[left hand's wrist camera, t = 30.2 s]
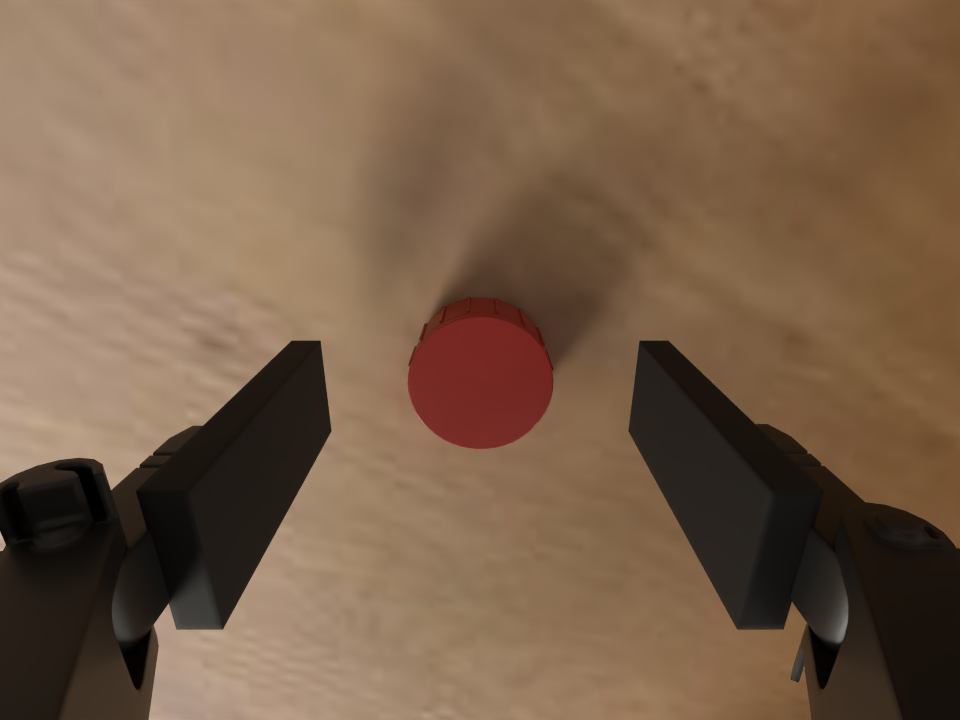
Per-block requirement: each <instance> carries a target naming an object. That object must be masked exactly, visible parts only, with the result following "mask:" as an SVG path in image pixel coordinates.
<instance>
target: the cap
mask: <svg viewBox="0 0 960 720" xmlns="http://www.w3.org/2000/svg"><path fill="white" fill-rule="evenodd" d="M544 345H545V344H544V341H543V338H542V335H541V332H540V329H539V328H538V327H537V328H536V327H535V325H534V324H533V323H532V321H531V320H530V319H529V318H528V317H527V316H526V315H525V314H524V313H523V311H522V309H519V310H518V309H517V308H515V307H513V306H511V305H509V304H507V303H504V302H502V301H498V298H495V300H494V299H487V298H473V299H471V297H468V299H467V300H463V301H459V302H456V303H454V304H452V305H449V306H448V307H445V306H444V307H443V308H442V310H441V311H440V312H439V313H437V314H436V315H435V316H434V317H433V318H432V319H431V320H430V321H429V323H428V324H426V323H425V325H424V327H423V330H422V333H421V336H420V338H419V341H418V344H417V346H415V348H414V350H413V353H412V356H411V359H410V362H409V366H410V369H409V374H408V391H409V396H410V400H411V403H412V405H413V408H414V410H415V412H416V413H417V415H418V417H419V418H420V420H421V421H422V422H423V423H424V425H425V426H426V427H427V428H428V429H429V430H431V431H432V432H433V433H434V434H436V435H437V436H439V437H440V438H442V439H443V440H445V441H448V442H450V443H452V444H455V445H458V446H462V447H467V448H474V449H488V448H495V447H499V446H503V445H506V444H509V443H511V442H514V441H516V440H517V439H519V438H521V437H523V436H524V435H525V434H527V433H528V432H529V431H530V430H532V429H533V428H534V427H535V426H536V425H537V423H538V422H539V421H540V420H541V418H542V417H543V415H544V414H545V412H546V410H547V408H548V406H549V403H550V400H551V397H552V391H553V374H552V371H553V367H552V364H551V361H550V358H549V355H548V352H547V350H545V347H544Z"/></svg>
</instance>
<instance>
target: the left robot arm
mask: <svg viewBox="0 0 960 720" xmlns="http://www.w3.org/2000/svg"><path fill="white" fill-rule="evenodd" d="M330 433H331V424H330V416H329V407H328V399H327V391H326V383H325V374H324V366H323V358H322V350H321V342H320V341H291V342H290V343H289V344H288V345H287V346H286V347H285V348H284V349H283V350H282V351H281V352H280V353H279V354H277V355H276V356H275V357H274V358H273V359H272V360H271V361H270V362H269V363H268V364H267V365H266V366H265V367H264V368H263V369H262V370H261V371H260V372H259V373H258V374H257V375H256V376H255V377H254V378H252V379H251V380H250V381H249V382H248V383H247V384H246V385H245V386H244V387H243V388H242V389H241V390H240V391H239V392H238V393H237V394H236V395H235V396H234V397H233V398H232V399H231V400H230V401H228V402H227V403H226V404H225V405H224V406H223V407H222V408H221V409H220V410H219V411H218V412H217V413H216V414H215V415H214V416H213V417H212V418H211V419H210V420H209V421H208V422H207V423H206V424H205V425H203V426H192V427H190V428H188V429H186V430H184V431H182V432H180V433H179V434H177V435H175V436H173V437H171V438H169V439H168V440H167V441H166V442H165V443H164V444H163V445H161V446H160V447H159V448H158V449H157V450H156V451H155V452H154V453H153V456H149V457H148V458H147V459H146V460H145V461H144V462H142V463H141V464H140V467H139V468H136V469H135V470H133V471H132V472H131V473H130V474H129V475H128V476H127V477H126V478H125V479H123V480H122V481H121V482H120V483H119V484H118V485H117V486H116V487H114V488H113V489H112V490H110V486H109V483H108V480H107V477H106V474H105V471H104V468H103V464H101V463H99V462H98V461H96V460H94V459H85V458H74V459H65V460H58V461H54V462H50V463H46V464H42V465H38V466H36V467H33V468H30V469H28V470H25V471H23V472H20V473H18V474H15V475H14V476H12V477H10V478H8V479H7V480H5V481H3V482H1V483H0V532H1V534H2V536H3V539H4V541H5V543H6V546H5V548H4V550H3V551H0V720H148V719H149V712H150V705H151V697H152V690H153V683H154V676H155V668H156V661H157V654H158V647H159V645H158V639H157V634H156V631H155V628H154V623H155V622H156V620H157V619H158V617H159V616H160V615H161V613H162V612H163V610H164V609H165V608H166V606H167V605H168V603H169V605H170V609H171V612H172V615H173V619H174V622H175V626H176V629H223V628H224V626H225V624H226V623H227V621H228V619H229V617H230V615H231V613H232V612H233V610H234V608H235V606H236V604H237V603H238V601H239V599H240V597H241V595H242V593H243V592H244V590H245V588H246V586H247V584H248V582H249V581H250V579H251V577H252V575H253V573H254V571H255V570H256V568H257V566H258V564H259V562H260V561H261V559H262V557H263V555H264V553H265V551H266V550H267V548H268V546H269V544H270V542H271V540H272V539H273V537H274V535H275V533H276V531H277V530H278V528H279V526H280V524H281V522H282V520H283V519H284V517H285V515H286V513H287V511H288V509H289V508H290V506H291V504H292V502H293V500H294V499H295V497H296V495H297V493H298V491H299V489H300V488H301V486H302V484H303V482H304V480H305V478H306V477H307V475H308V473H309V471H310V469H311V468H312V466H313V464H314V462H315V460H316V458H317V457H318V455H319V453H320V451H321V449H322V447H323V446H324V444H325V442H326V440H327V438H328V437H329V435H330ZM629 433H630V435H631V436H632V438H633V440H634V442H635V444H636V446H637V447H638V449H639V451H640V453H641V455H642V457H643V458H644V460H645V462H646V464H647V466H648V468H649V469H650V471H651V473H652V475H653V477H654V478H655V480H656V482H657V484H658V486H659V488H660V489H661V491H662V493H663V495H664V497H665V499H666V500H667V502H668V504H669V506H670V508H671V509H672V511H673V513H674V515H675V517H676V519H677V520H678V522H679V524H680V526H681V528H682V530H683V531H684V533H685V535H686V537H687V539H688V540H689V542H690V544H691V546H692V548H693V550H694V551H695V553H696V555H697V557H698V559H699V561H700V562H701V564H702V566H703V568H704V570H705V571H706V573H707V575H708V577H709V579H710V581H711V582H712V584H713V586H714V588H715V590H716V592H717V593H718V595H719V597H720V599H721V601H722V602H723V604H724V606H725V608H726V610H727V612H728V613H729V615H730V617H731V619H732V621H733V623H734V624H735V626H736V628H737V629H784V626H785V622H786V619H787V615H788V612H789V609H790V605H791V602H793V603H794V605H795V606H796V608H797V609H798V610H799V612H800V613H801V615H802V616H803V617H804V619H805V620H806V622H807V625H806V628H805V631H804V634H803V637H802V640H801V644H800V647H799V650H798V653H797V656H796V659H795V662H794V666H793V669H792V675H791V680H793V681H796V682H799V680H800V677H801V674H802V671H803V670H805V674H806V681H807V688H808V696H809V703H810V710H811V717H812V720H960V549H958V548H956V547H955V545H954V544H953V543H952V542H951V540H950V539H949V538H948V537H947V536H946V535H945V534H944V532H942V531H941V530H939V529H938V528H936V527H935V526H933V525H932V524H930V523H929V522H928V521H926V520H924V519H922V518H920V517H917V516H915V515H913V514H911V513H909V512H907V511H904V510H900V509H897V508H894V507H890V506H887V505H882V504H875V503H867V502H864V501H863V500H862V499H861V498H860V497H859V496H857V495H856V494H855V493H854V492H853V491H852V490H851V489H850V488H848V487H847V486H846V485H845V484H844V483H843V482H842V481H841V480H839V479H838V478H837V477H836V476H835V475H834V474H833V473H832V472H830V471H829V470H828V469H827V468H826V467H825V466H821V463H820V462H819V461H818V460H817V459H816V458H815V457H814V456H812V455H811V454H807V450H806V449H805V448H803V447H802V446H801V445H800V444H799V443H798V442H797V441H796V440H794V439H793V438H792V437H791V436H789V435H787V434H785V433H783V432H781V431H780V430H778V429H776V428H774V427H772V426H770V425H768V424H754V423H753V422H752V421H751V420H750V419H749V418H748V417H747V416H746V415H745V414H744V413H743V412H742V411H741V410H740V409H739V408H738V407H737V406H736V405H735V404H734V403H733V402H732V401H730V400H729V399H728V398H727V397H726V396H725V395H724V394H723V393H722V392H721V391H720V390H719V389H718V388H717V387H716V386H715V385H714V384H713V383H712V382H711V381H710V380H709V379H708V378H707V377H705V376H704V375H703V374H702V373H701V372H700V371H699V370H698V369H697V368H696V367H695V366H694V365H693V364H692V363H691V362H690V361H689V360H688V359H687V358H686V357H685V356H684V355H683V354H681V353H680V352H679V351H678V350H677V349H676V348H675V347H674V346H673V345H672V344H671V343H670V342H669V341H640V342H639V350H638V358H637V366H636V375H635V383H634V391H633V399H632V407H631V416H630V424H629Z"/></svg>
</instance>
